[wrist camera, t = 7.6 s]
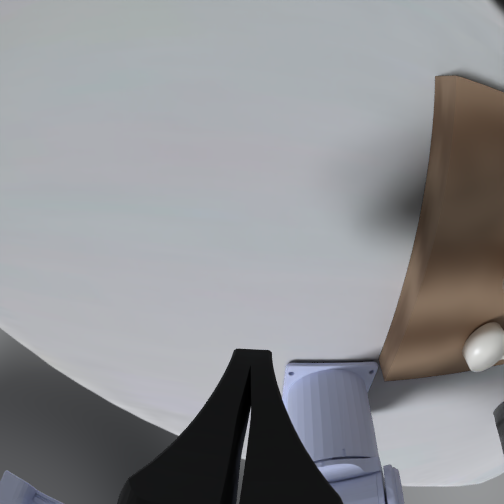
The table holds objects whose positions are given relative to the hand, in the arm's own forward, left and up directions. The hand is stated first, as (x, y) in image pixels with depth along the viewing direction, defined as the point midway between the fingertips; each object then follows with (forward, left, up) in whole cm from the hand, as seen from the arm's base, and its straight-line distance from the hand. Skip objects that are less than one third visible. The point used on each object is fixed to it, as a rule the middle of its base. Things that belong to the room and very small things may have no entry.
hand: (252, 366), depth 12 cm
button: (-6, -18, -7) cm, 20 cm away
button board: (+1, -18, -9) cm, 20 cm away
